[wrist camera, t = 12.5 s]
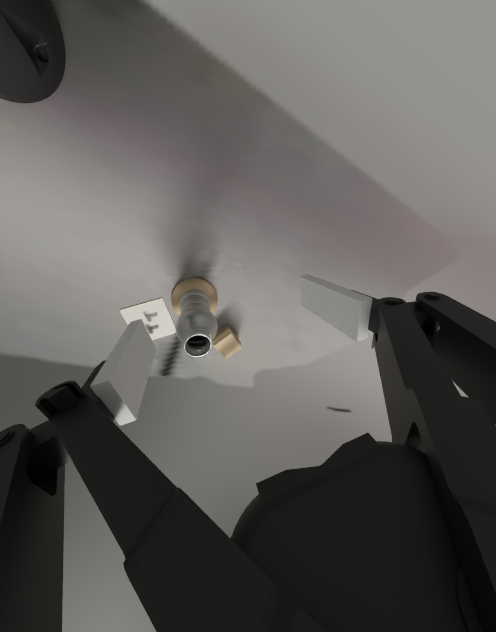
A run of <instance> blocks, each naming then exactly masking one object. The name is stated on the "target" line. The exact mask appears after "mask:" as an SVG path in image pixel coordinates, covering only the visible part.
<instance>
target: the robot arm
mask: <svg viewBox="0 0 496 632" xmlns="http://www.w3.org/2000/svg"><path fill="white" fill-rule="evenodd" d="M64 69H65V49H64V43H63V38H62V34H61V31H60V28H59V25H58V22H57V19H56V17H55V14H54V12H53V10H52V8H51V6H50V4H49V2H48V0H0V98H2V99H5V100H8V101H12V102H19V103H33V102H38V101H41V100H43V99H45V98H47V97H49V96H50V95H51V94H53V93H54V92H55V90H56V89H57V88H58V86H59V84H60V83H61V80H62V77H63V74H64ZM300 287H301V305H302V306H303V307H305V308H306V309H308V310H309V311H311V312H312V313H314V314H315V315H317V316H318V317H320V318H321V319H323V320H325V321H326V322H328V323H329V324H331V325H332V326H334V327H335V328H337V329H338V330H340V331H341V332H343V333H344V334H346V335H347V336H349V337H350V338H352V339H353V340H355V341H356V342H359V341H361V340H364V339H367V337H368V330H370V331H372V332H374V334H373V341H372V348H374V346H375V351H376V356H377V362H378V367H379V371H380V377H381V382H382V387H383V393H384V397H385V403H386V408H387V413H388V419H389V424H390V428H391V433H392V442H383V441H382V442H380V441H375V440H374V439H373V437H372V436H371V435H370V434H369V433H366V434H364V435H362V436H360V437H358V438H355V439H353V440H351V441H349V442H346V443H345V444H343V445H342V446H341V447H340V448H339V449H337V451H335V452H334V454H332V455H331V456H330V457H329V458H328V459H327V460H326V461H325V462H324V463H323V464H322V465H320V466H317V467H308V468H299V469H290V470H285V471H283V472H281V473H278V474H276V475H274V476H272V477H270V478H268V479H265V480H263V481H261V482H259V483H256V485H257V488H258V492H259V494H258V495H257V496H256V497H255V498H254V499H253V500H252V502H251V503H250V504H249V505H248V506H247V507H246V509H245V511H244V512H243V513H242V515H241V517H240V519H239V520H238V523H237V524H236V526H235V529H234V531H233V534H232V536H231V539H230V538H229V537H228V536H227V535H226V534H225V533H224V532H223V531H222V530H221V529H220V528H219V527H218V526H217V525H216V524H215V523H214V522H213V521H212V520H211V519H210V518H209V517H208V516H207V515H206V514H205V513H204V512H203V511H202V510H201V509H200V507H199V506H197V504H196V503H195V502H194V501H193V500H191V498H190V497H189V496H188V495H187V494H186V493H185V492H183V491H182V490H181V489H180V488H177V487H176V486H175V485H174V484H173V483H172V482H171V481H170V480H169V479H168V478H167V477H166V476H165V475H164V474H163V473H162V472H161V471H160V470H159V469H158V468H157V467H156V466H155V465H154V464H153V463H152V462H151V461H150V460H149V459H148V458H147V457H146V456H145V454H144V453H143V452H142V451H140V450H139V448H138V447H137V446H136V445H135V444H134V443H133V442H132V441H131V440H130V439H129V438H128V437H127V436H126V435H125V434H124V433H123V432H122V431H121V430H120V429H119V428H118V427H117V426H116V425H115V424H114V423H113V420H114V418H115V420H116V421H117V422H118V423H119V425H120V426H121V425H124V424H126V423H129V422H132V421H135V420H136V419H137V416H138V412H139V408H140V405H141V401H142V397H143V394H144V390H145V387H146V383H147V379H148V376H149V372H150V369H151V365H152V361H153V358H154V354H155V350H156V347H155V345H154V343H153V341H152V339H151V337H150V335H149V333H148V331H147V329H146V327H145V325H144V323H143V321H142V319H139V320H135V321H132V322H130V324H129V325H128V327H127V328H126V330H125V332H124V333H123V335H122V336H121V338H120V339H119V341H118V343H117V344H116V346H115V347H114V349H113V351H112V352H111V354H110V355H109V357H108V358H107V360H105V361H102V362H101V363H100V364H99V365H98V366H97V367H96V368H95V369H94V370H93V372H92V373H91V375H90V376H89V378H88V379H87V380H88V381H86V382H85V384H84V385H83V387H82V388H80V387H79V385H78V384H77V383H76V382H75V381H67V382H64V383H61V384H59V385H57V386H55V387H53V388H51V389H50V390H49V391H47V392H46V393H44V394H43V395H42V396H41V397H39V399H38V400H37V402H36V404H35V405H36V407H37V408H38V409H39V410H40V411H41V412H42V413H43V414H44V415H45V416H46V417H47V418H48V419H49V420H48V421H46V422H44V423H42V424H40V425H38V426H36V427H34V428H32V429H28V428H27V427H26V426H25V425H24V424H17V425H13V426H11V427H9V428H7V429H5V430H3V431H1V432H0V632H62V596H63V593H62V591H63V540H64V537H63V536H64V484H65V482H64V481H65V464H67V463H68V462H70V461H71V460H72V461H73V463H74V465H75V467H76V468H77V470H78V472H79V474H80V476H81V477H82V479H83V481H84V483H85V485H86V486H87V488H88V490H89V492H90V494H91V495H92V497H93V499H94V501H95V502H96V504H97V506H98V508H99V510H100V512H101V513H102V515H103V517H104V519H105V521H106V522H107V524H108V526H109V528H110V530H111V531H112V533H113V535H114V537H115V539H116V540H117V542H118V544H119V546H120V547H121V549H122V551H123V553H124V555H125V561H124V563H123V564H124V568H125V571H126V573H127V576H128V578H129V580H130V582H131V584H132V586H133V588H134V590H135V591H136V593H137V595H138V597H139V599H140V601H141V603H142V605H143V607H144V608H145V610H146V612H147V614H148V616H149V617H150V620H151V622H152V624H153V626H154V627H155V629H156V631H157V632H496V322H495V321H493V320H491V319H489V318H488V317H486V316H484V315H482V314H480V313H478V312H476V311H474V310H472V309H471V308H469V307H467V306H465V305H463V304H461V303H459V302H457V301H456V300H454V299H452V298H450V297H448V296H446V295H444V294H440V293H437V292H424V293H419V294H417V297H416V301H415V302H408V303H406V302H405V301H404V300H402V299H399V298H393V297H387V298H381V299H376V298H373V297H370V296H368V295H364V294H362V293H359V292H357V291H354V290H349V289H346V288H344V287H341V286H338V285H336V284H333V283H330V282H327V281H325V280H322V279H319V278H316V277H314V276H311V275H308V274H307V275H303V276H300ZM439 327H440V328H439ZM438 329H439V330H438ZM451 379H452V380H451ZM452 381H454V383H456V385H457V386H459V388H460V389H461V390H462V391H463V392H464V393H465V394H466V395H467V396H468V397H469V398H468V397H462V396H461V395H460V394H459V392H458V390H457V388H456V387H455V385H454V383H453V382H452Z"/></svg>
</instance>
